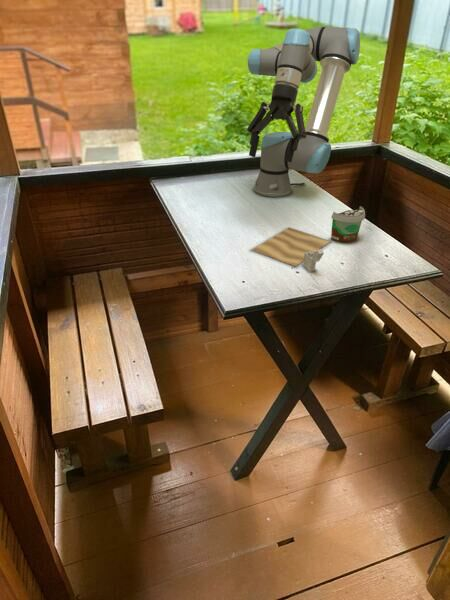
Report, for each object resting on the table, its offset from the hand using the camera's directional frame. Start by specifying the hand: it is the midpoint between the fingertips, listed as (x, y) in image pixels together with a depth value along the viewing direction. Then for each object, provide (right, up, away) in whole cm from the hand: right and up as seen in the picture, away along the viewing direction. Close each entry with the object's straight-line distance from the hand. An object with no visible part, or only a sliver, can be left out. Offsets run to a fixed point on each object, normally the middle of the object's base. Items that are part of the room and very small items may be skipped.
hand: (269, 158), depth 138 cm
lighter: (+12, -35, -7) cm, 38 cm away
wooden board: (+8, -26, +6) cm, 28 cm away
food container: (+27, -24, +10) cm, 38 cm away
